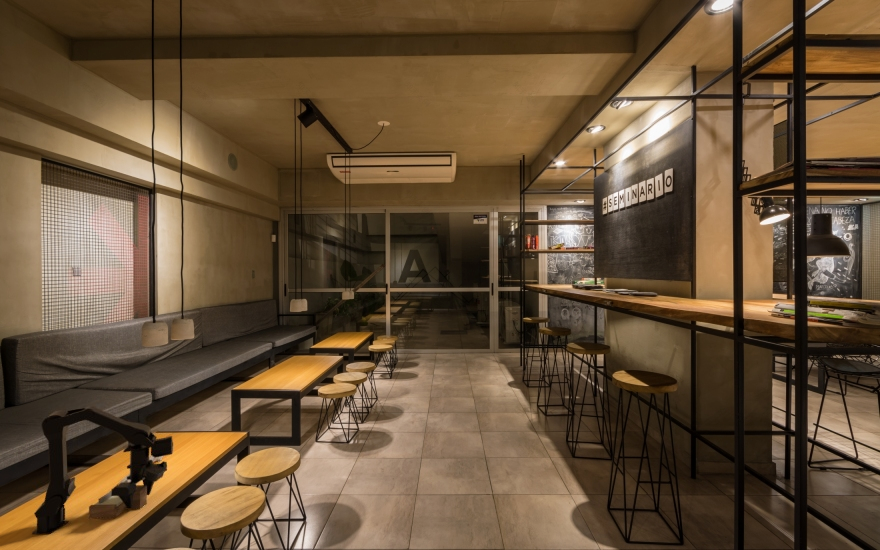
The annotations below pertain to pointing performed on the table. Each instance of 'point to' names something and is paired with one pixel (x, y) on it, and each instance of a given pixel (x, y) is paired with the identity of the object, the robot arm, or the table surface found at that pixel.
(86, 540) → the table surface
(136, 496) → the brown rectangular block
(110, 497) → the cream cabinet door
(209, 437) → the table surface
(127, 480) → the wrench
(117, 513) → the wooden tray
